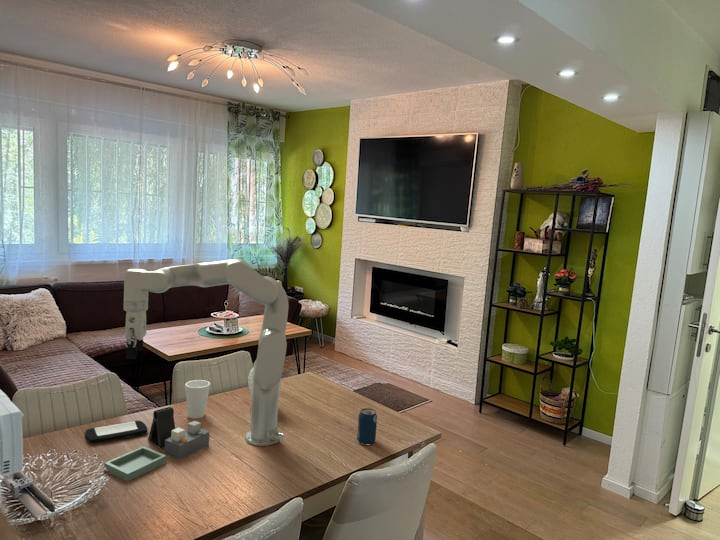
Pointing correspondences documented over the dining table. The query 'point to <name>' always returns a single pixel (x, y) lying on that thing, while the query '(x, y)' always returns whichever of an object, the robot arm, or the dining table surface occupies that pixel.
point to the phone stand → (162, 426)
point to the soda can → (367, 426)
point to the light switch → (115, 431)
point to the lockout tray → (135, 463)
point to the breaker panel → (187, 444)
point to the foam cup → (197, 397)
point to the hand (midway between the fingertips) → (134, 354)
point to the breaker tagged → (177, 434)
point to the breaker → (194, 427)
